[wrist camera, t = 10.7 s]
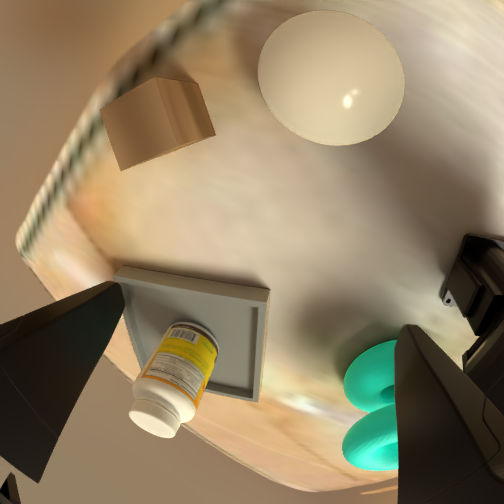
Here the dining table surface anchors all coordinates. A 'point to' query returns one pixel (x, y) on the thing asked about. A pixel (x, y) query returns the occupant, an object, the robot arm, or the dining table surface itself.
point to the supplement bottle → (174, 379)
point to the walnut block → (156, 120)
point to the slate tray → (201, 323)
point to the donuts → (372, 410)
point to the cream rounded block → (331, 77)
